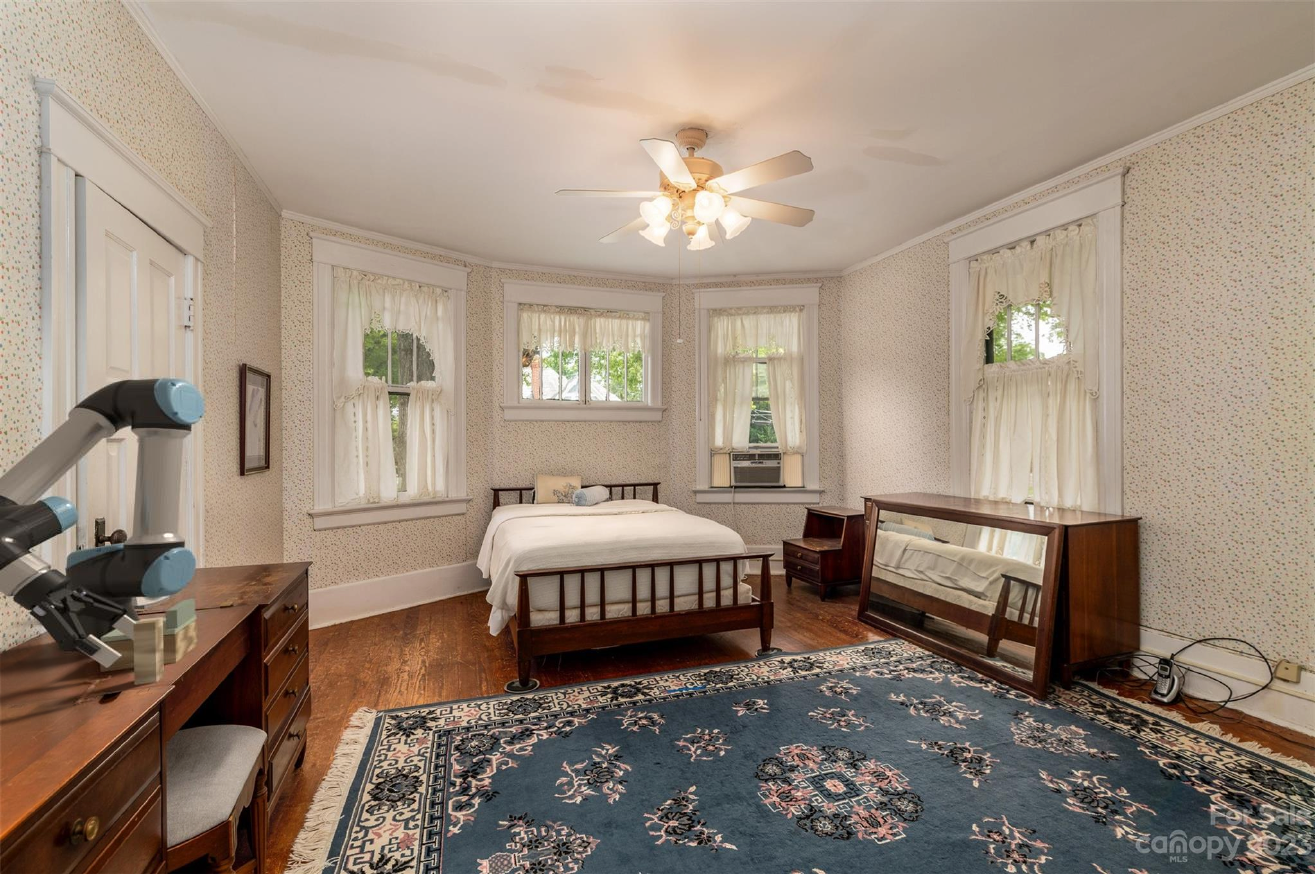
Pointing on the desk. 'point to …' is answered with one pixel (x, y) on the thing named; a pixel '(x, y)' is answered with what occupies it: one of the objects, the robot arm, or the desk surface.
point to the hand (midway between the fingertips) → (131, 650)
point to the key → (91, 687)
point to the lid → (165, 621)
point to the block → (148, 650)
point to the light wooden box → (172, 648)
